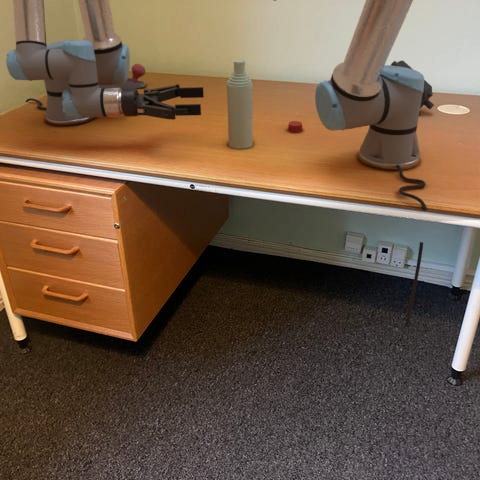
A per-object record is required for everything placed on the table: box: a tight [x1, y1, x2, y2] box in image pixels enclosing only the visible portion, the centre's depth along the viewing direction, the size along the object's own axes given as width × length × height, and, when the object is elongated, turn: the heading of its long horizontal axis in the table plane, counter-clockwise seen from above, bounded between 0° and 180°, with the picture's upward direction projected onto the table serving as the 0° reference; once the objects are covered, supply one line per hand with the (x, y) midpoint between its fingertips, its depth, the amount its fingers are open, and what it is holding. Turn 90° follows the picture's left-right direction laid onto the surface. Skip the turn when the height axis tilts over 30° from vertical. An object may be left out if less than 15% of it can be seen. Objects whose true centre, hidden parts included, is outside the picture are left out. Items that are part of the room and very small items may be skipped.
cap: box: [287, 120, 303, 134], centre depth 158 cm, size 4×4×2 cm
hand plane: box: [99, 63, 146, 90], centre depth 194 cm, size 7×31×15 cm, turn 107°
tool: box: [390, 60, 435, 111], centre depth 170 cm, size 6×19×15 cm, turn 51°
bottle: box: [226, 59, 254, 150], centre depth 144 cm, size 7×7×23 cm
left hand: (202, 100), depth 142 cm, fingers open, 13 cm apart
